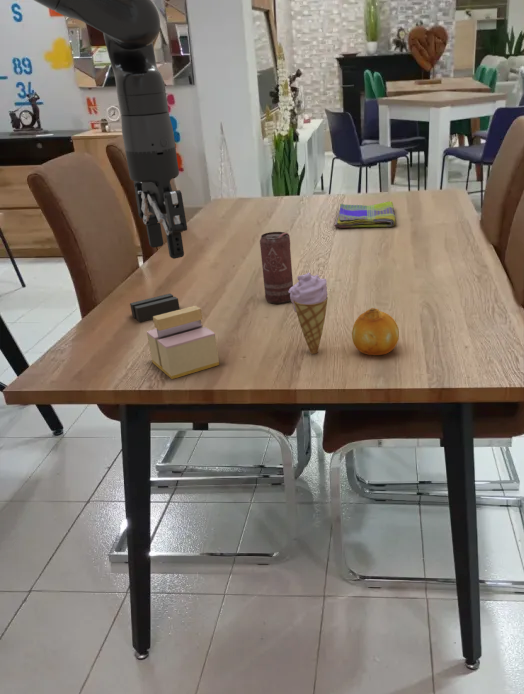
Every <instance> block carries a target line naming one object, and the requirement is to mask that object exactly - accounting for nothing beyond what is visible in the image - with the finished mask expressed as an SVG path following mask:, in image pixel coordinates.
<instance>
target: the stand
mask: <svg viewBox="0 0 524 694" xmlns="http://www.w3.org/2000/svg"><path fill="white" fill-rule="evenodd" d="M129 306H130V311H131V316H132V318H133V319H136V321H137V322H138V323H142V322H146V321H151V320H153V316H157V315H161V314H164V313H168V312H172V311H176V310H180V309H181V308H180V303H179V298H178V297H177V296H174V295H173V294H172V293H167V294H162V295H159V296H154V297H150V298H146V299H141V300H138V301H134V302H133V301H132V302H129Z"/></svg>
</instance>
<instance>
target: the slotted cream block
mask: <svg viewBox="0 0 524 694" xmlns="http://www.w3.org/2000/svg"><path fill="white" fill-rule="evenodd" d="M201 325H202V328H199V329H196V330H192V331H188V332H185V333H181V334H177V335H174V336H170V337H167V338H163V339H158V333H157V329H156V328H153V329H149V330H147V331H146V336H147V342H148V346H149V352H150V357H151V362H152V364H154V365H155V366H156V367H157V368H158V369H159V370H160V371H161V372H163V373H164V374H165V375H166V376H167V377H169V378H170V379H171V380H175V379H178V378H181V377H184V376H187V375H191V374H195V373H198V372H201V371H204V370H207V369H210V368H214V367H217V366H220V359H219V353H218V352H219V351H218V345H217V337H216V333H215V332H214V331H213V330H212V329H210V328H208V327H207V326H203V324H202V323H201Z"/></svg>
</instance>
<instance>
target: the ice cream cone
mask: <svg viewBox="0 0 524 694" xmlns="http://www.w3.org/2000/svg"><path fill="white" fill-rule="evenodd" d="M296 278H297V280H298V281H297V282H296V283H295V284H293V286H292V287H291V288H290V289H289V291H288V292H289V293H291V294H290V299H291V301H290V302H291V303H292V306H293V311H294V312H295V313H296V317H297V319H298V322H299V326H300V329H301V332H302V334H303V337H304V340H305V343H306V346H307V348H308V351H309V353H310V354H311V355H316V354H318V353H319V349H320V344H321V339H322V335H323V330H324V325H325V320H326V314H327V307H328V287H327V283H328V281H327V279H326V278H321V277H319V274H316V275H313V274H311V272H309V271H308V272H306V273H305V274H300V275H297V276H296Z"/></svg>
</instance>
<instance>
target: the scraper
mask: <svg viewBox="0 0 524 694" xmlns="http://www.w3.org/2000/svg"><path fill="white" fill-rule="evenodd" d="M152 320H153V325H154V329H157V333H158V339H163V338H167V337H170V336H174V335H177V334H181V333H185V332H188V331H192V330H196V329H199V328H202V326H203V324H202V320H203V314H202V308H201V307H199V306H197V305H192V306H189V307H188V306H187V307H185V308H180V310H176V311H172V312H168V313H164V314H161V315H157V316H153V319H152ZM201 324H202V325H201Z"/></svg>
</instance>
